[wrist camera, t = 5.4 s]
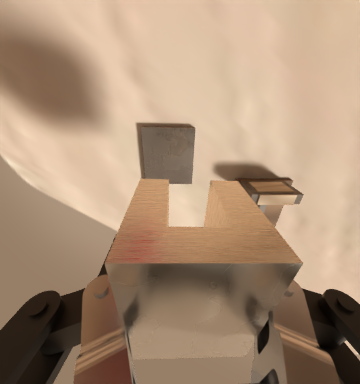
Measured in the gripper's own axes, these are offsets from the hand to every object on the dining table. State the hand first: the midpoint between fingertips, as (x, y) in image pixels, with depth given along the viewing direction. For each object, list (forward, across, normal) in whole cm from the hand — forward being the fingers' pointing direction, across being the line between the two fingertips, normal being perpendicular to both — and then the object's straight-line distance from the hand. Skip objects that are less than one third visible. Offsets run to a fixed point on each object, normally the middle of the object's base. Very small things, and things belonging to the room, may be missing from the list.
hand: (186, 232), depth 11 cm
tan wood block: (0, 0, 0) cm, 0 cm away
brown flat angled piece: (+15, +2, 0) cm, 15 cm away
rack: (+15, -14, +9) cm, 22 cm away
